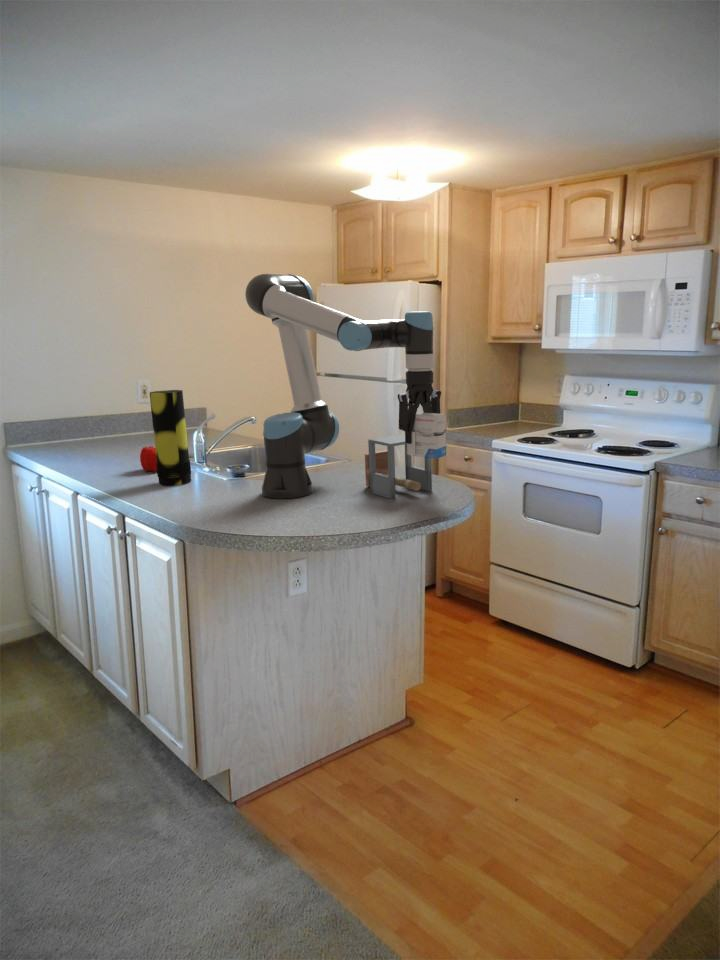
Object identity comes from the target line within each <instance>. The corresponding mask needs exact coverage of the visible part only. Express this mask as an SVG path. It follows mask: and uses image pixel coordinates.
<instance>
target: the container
mask: <svg viewBox="0 0 720 960" xmlns="http://www.w3.org/2000/svg"><path fill="white" fill-rule="evenodd" d="M183 391H184V390H182V389H168V390H165V389H164V390H155V391H150V392H149V400H150V401H149V403H150V409H151V411H150V413H151V420H152V430H153V438H154V448H155V449H156V459H157V463H156V466H157V471H156V475H157V478H158V484H159V485H160V486H162V487H178V486H184V485H188V484H189V483H191V482H192V475H191V474H192V471H191V470H192V468H191V459H190V454H189V445H188V443H189V442H188V432H187V425H186V424H187V423H186V414H185V404H184V403H185V402H184V394H183Z"/></svg>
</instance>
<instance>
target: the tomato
mask: <svg viewBox="0 0 720 960" xmlns="http://www.w3.org/2000/svg"><path fill="white" fill-rule="evenodd" d="M139 461H140V466H141V468H142V469H143V470H144V471H146V472H152V473H157V466H156V463H157V459H156V449H155V446H143V447H142V449H141V451H140V453H139Z"/></svg>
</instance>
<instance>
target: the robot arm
mask: <svg viewBox="0 0 720 960" xmlns="http://www.w3.org/2000/svg"><path fill="white" fill-rule="evenodd" d="M244 294H245V300H246V303H247V305H248V307H249V308H250V309H251V311H253V312H254V313H256V314H257V315H261V316H263V317H266V318H268V319H270V320H271V322H272V325H274V326H276V327H277V328H278V332H279V338H280V342H281V343H280V344H281V347H282V352H283V357H284V362H285V366H286V371H287V377H288V382H289V386H290V391H291V396H292V400H293V406H292V409H291V410H290V411H289V412H283V413H277V414H274V415H271V416H269V417H267V418H266V419H265V420H264V422H263V433H262V435H263V442H264V443H263V444H264V454H265V455H264V457H265V466H266V467H265V468H266V469H265V473H264V479H263V482H262V485H261V493H262V494H261V495H262V496H263V497H265V498H270V499H279V500H280V499H283V500H284V499H294V498H300V497H301V498H302V497H306V496H308V495H310V494H312V493H313V492H314V490H313V482H312V480H311V477H310V474H309V472H308V470H307V466H306V456H305V455H306V454H309V453H312V452H318V451H323V450H325V449H326V448H330V447H331V446H332V445H334V444H335V442H336V441H337V439H338V437H339V434H340V422H339V421H338V417H337V416H336V415H334V413H333V412H332V411H330V410H329V408H328V407H329V406H328V403H326V402H325V401H323V399H322V397H321V391H320V387H319V382H318V376H317V375H318V374H317V372H316V366H315V362H314V355H313V352H312V348H311V347H312V346H311V342H310V336H309V332H308V331H311V332H313V333H315V334H318V335H320V336H322V337H326V338H329V339H331V340H333V341H336V342H338V343H340V345H341V346H342V348H344V349H345V350H346V351H354V352H360V351H365V350H367V351H368V350H377V349H388V348H405V350H404V352H405V369H406V371H405V384H406V390H405V392H403V393H398V394H397V399H398V430H400V431H402V432H404V434H405V442H406V443H407V454H408V455H411V457H416V456H415V432H412V431H413V427H414V422H415V417H416V413H418V409H419V407H420V406H421V408H422V413H437V414H441V395H442V391H441V390H435V389H434V388H433V384H434V371H433V370H432V369H433V368H434V329H435V327H434V322H433V321H434V319H433V318H434V317H433V313H432V312H431V311H425V310H424V311H407V312H405V314H404V318H402V319H384V318H383V319H382V318H381V319H374V320H372V319H371V320H370V319H368V320H364V319H360V318H357V317H354V316H352V315H349V314H347V313H344V312H342V311H339V310H336V309H334V308H331V307H328V306H325V305H324V304H320V303H318V302H314V292H313V288H312V286H311V285H310V283H309V282H308V281H307V280H306V279H305V278H303V277H301V276H299V275H294V274H292V273H291V274H290V273H287V274H274V273H273V274H272V273H271V274H270V273H261V274H259V275H255V277H253V278H251V279H250V281H248V284H247V285H246V288H245V293H244Z"/></svg>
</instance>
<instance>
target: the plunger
mask: <svg viewBox="0 0 720 960" xmlns="http://www.w3.org/2000/svg"><path fill="white" fill-rule="evenodd" d="M375 459H376V473H380V474H383V475H387V476H388V451H387V449H385V450H381V451H375ZM364 465H365V466H364V468H365V486H366V487H368V488H370V471H369V452H368V453H364ZM395 486H398V487H401V488H405V489H409V490H412V491H420V490H421V489H420V488H421V484H420V483H418V482H415V481H411V480H407V479H406V478H402V477H400V476H396V475H395Z"/></svg>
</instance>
